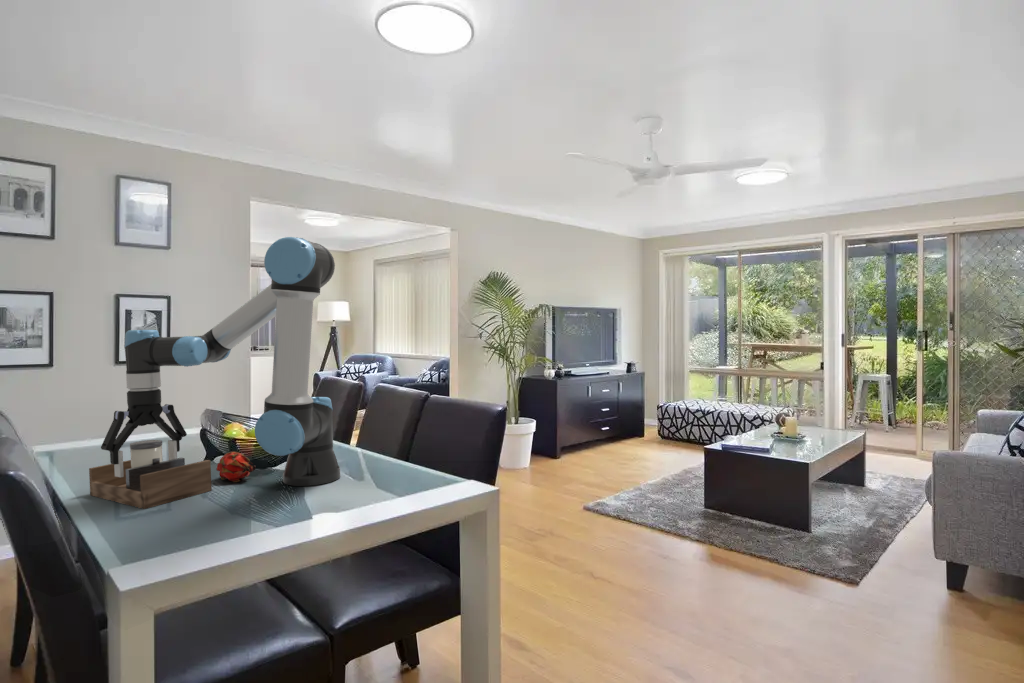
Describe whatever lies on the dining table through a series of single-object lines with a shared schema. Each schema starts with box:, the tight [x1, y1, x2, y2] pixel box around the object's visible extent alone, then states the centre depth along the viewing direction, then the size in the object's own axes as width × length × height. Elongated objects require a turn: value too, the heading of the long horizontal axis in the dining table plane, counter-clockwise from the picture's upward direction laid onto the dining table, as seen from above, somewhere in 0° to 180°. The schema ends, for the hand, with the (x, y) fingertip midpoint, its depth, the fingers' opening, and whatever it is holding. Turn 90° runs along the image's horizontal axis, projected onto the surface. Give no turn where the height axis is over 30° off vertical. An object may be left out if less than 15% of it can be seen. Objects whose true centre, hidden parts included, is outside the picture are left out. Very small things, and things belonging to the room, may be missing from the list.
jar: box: [129, 439, 163, 468], centre depth 154 cm, size 7×7×12 cm
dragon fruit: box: [215, 450, 256, 483], centre depth 165 cm, size 8×8×12 cm
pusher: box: [126, 457, 186, 492], centre depth 152 cm, size 2×14×8 cm, turn 150°
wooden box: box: [88, 459, 212, 510], centre depth 153 cm, size 25×17×8 cm
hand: (147, 470), depth 154 cm, fingers open, 13 cm apart
